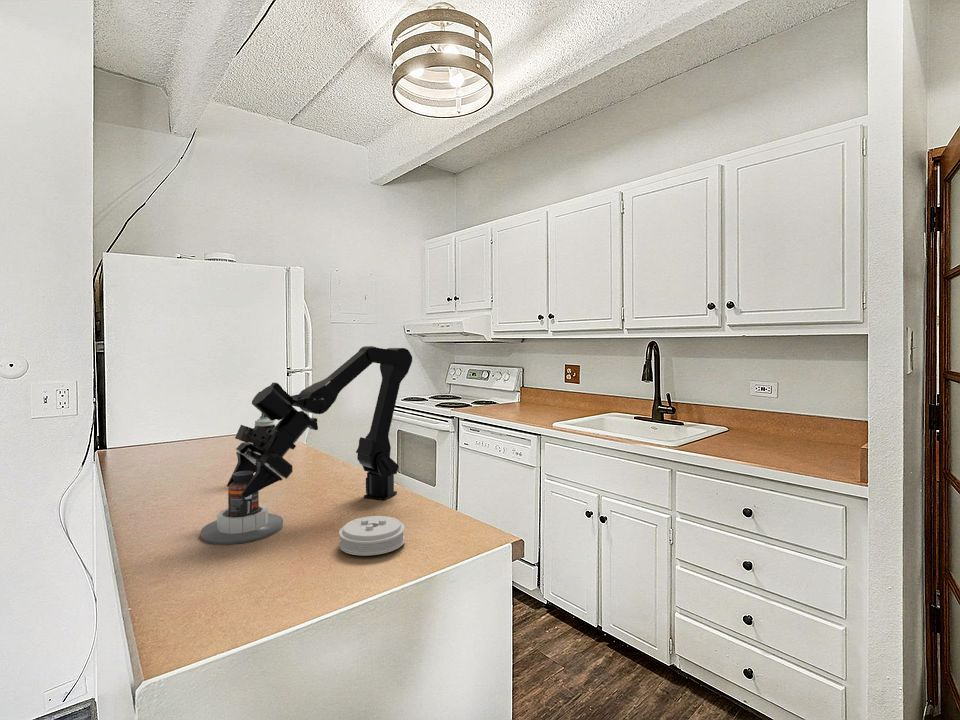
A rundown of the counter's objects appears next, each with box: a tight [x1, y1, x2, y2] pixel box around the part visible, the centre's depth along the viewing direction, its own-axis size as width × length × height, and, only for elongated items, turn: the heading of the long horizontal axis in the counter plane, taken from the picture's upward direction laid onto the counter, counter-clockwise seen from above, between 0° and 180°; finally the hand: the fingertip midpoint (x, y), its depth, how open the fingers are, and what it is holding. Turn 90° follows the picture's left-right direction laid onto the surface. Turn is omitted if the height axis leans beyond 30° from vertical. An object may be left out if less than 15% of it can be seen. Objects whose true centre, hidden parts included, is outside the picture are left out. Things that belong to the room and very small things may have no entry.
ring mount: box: [200, 504, 284, 546], centre depth 109 cm, size 16×16×4 cm
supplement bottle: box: [227, 471, 260, 518], centre depth 109 cm, size 6×6×11 cm
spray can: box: [254, 412, 276, 466], centre depth 148 cm, size 6×6×20 cm
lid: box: [338, 515, 406, 557], centre depth 100 cm, size 13×13×5 cm
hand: (235, 491), depth 108 cm, fingers open, 9 cm apart
